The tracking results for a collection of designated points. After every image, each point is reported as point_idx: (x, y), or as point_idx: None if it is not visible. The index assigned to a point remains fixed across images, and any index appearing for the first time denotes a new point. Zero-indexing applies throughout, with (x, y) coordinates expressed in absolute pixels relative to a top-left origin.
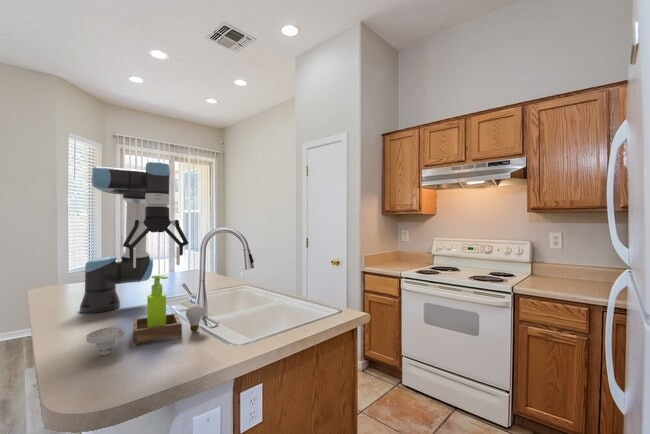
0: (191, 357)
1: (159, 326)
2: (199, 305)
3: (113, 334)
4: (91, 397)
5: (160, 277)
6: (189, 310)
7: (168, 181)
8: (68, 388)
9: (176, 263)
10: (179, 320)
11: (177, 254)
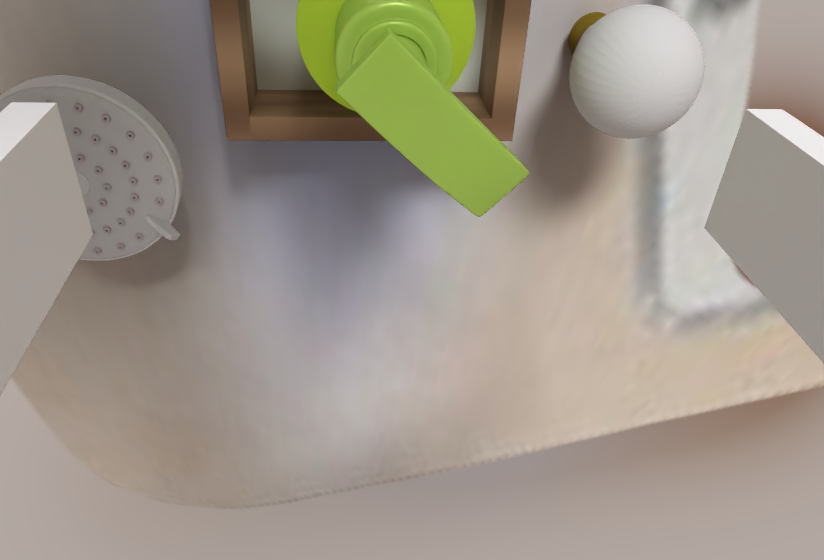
0: (471, 346)
1: None
2: (687, 101)
3: (135, 241)
4: (175, 456)
5: (435, 180)
6: (596, 118)
7: None
8: (84, 388)
9: (751, 119)
10: (517, 62)
11: (807, 343)
